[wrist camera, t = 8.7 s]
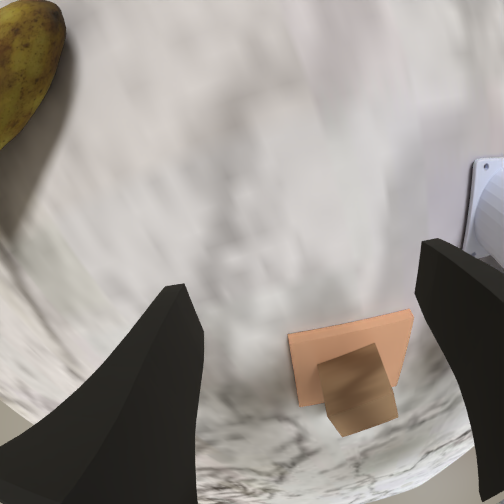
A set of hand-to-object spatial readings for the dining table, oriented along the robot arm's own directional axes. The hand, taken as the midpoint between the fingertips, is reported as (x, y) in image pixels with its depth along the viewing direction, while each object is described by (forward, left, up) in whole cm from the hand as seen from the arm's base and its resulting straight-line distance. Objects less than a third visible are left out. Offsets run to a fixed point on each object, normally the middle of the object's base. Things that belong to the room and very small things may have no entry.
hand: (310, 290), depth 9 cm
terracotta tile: (-4, +17, -9) cm, 20 cm away
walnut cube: (-4, +17, -8) cm, 19 cm away
